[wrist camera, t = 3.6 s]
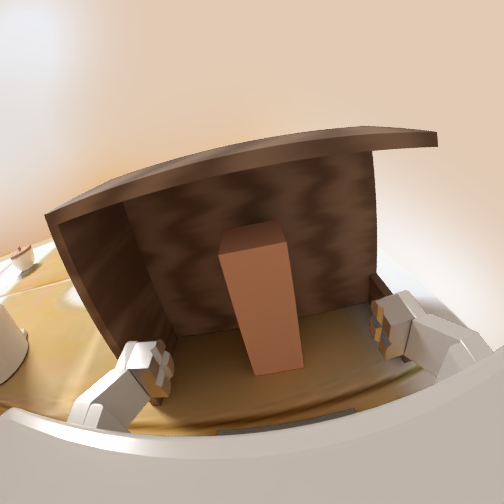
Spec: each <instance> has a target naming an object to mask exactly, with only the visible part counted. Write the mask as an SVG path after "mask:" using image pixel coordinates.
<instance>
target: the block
mask: <svg viewBox="0 0 504 504" xmlns="http://www.w3.org/2000/svg"><path fill="white" fill-rule="evenodd" d="M218 256H219V260H220V263H221V267H222V270H223V274H224V277H225V280H226V284H227V287H228V291H229V294H230V297H231V301H232V304H233V307H234V311H235V314H236V317H237V321H238V324H239V327H240V330H241V334H242V337H243V340H244V343H245V346H246V349H247V353H248V356H249V359H250V362H251V365H252V368H253V371H254V374H255V376H258V375H265V374H271V373H277V372H283V371H288V370H293V369H298V368H303V367H304V365H303V357H302V348H301V340H300V332H299V324H298V317H297V309H296V302H295V295H294V288H293V281H292V274H291V268H290V261H289V254H288V248H287V242H286V239H285V236H284V234H283V231H282V228H281V226H280V223H279V221H278V219H277V220H272V221H267V222H262V223H257V224H252V225H247V226H242V227H237V228H232V229H227V230H223V231H222V237H221V242H220V248H219V254H218Z"/></svg>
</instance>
